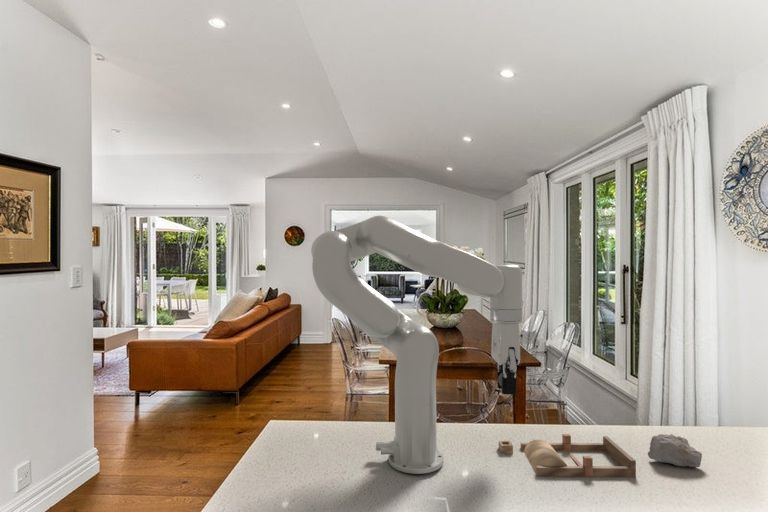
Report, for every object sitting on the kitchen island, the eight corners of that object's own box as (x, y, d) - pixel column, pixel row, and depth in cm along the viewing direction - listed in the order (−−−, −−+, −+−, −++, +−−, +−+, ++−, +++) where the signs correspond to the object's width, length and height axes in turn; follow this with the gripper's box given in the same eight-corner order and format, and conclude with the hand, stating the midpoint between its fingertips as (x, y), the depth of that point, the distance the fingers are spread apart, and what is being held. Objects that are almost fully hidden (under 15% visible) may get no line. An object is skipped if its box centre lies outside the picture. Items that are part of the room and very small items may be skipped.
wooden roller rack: (537, 499, 96) (537, 457, 96) (520, 470, 109) (520, 433, 109) (636, 500, 95) (636, 458, 95) (607, 470, 108) (606, 434, 108)
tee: (501, 455, 106) (501, 445, 106) (498, 450, 109) (498, 440, 109) (513, 455, 106) (512, 445, 106) (510, 450, 109) (510, 440, 109)
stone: (708, 470, 98) (709, 443, 98) (666, 471, 97) (667, 443, 97) (680, 455, 106) (680, 430, 106) (641, 455, 105) (642, 430, 105)
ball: (500, 390, 106) (500, 373, 106) (496, 385, 110) (496, 369, 110) (517, 390, 105) (517, 373, 105) (512, 385, 109) (512, 369, 109)
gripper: (483, 311, 116) (484, 381, 116) (498, 320, 99) (499, 402, 99) (512, 311, 116) (512, 381, 116) (532, 320, 99) (533, 402, 99)
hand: (506, 390), depth 108 cm, fingers closed on ball, 3 cm apart
